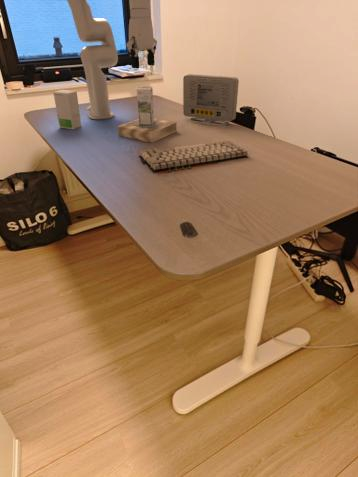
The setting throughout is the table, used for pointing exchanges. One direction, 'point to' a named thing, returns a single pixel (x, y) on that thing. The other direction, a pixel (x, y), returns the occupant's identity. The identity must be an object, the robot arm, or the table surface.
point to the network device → (210, 98)
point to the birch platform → (147, 130)
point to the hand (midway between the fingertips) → (143, 66)
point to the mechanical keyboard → (190, 156)
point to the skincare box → (67, 109)
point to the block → (188, 229)
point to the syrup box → (145, 105)
